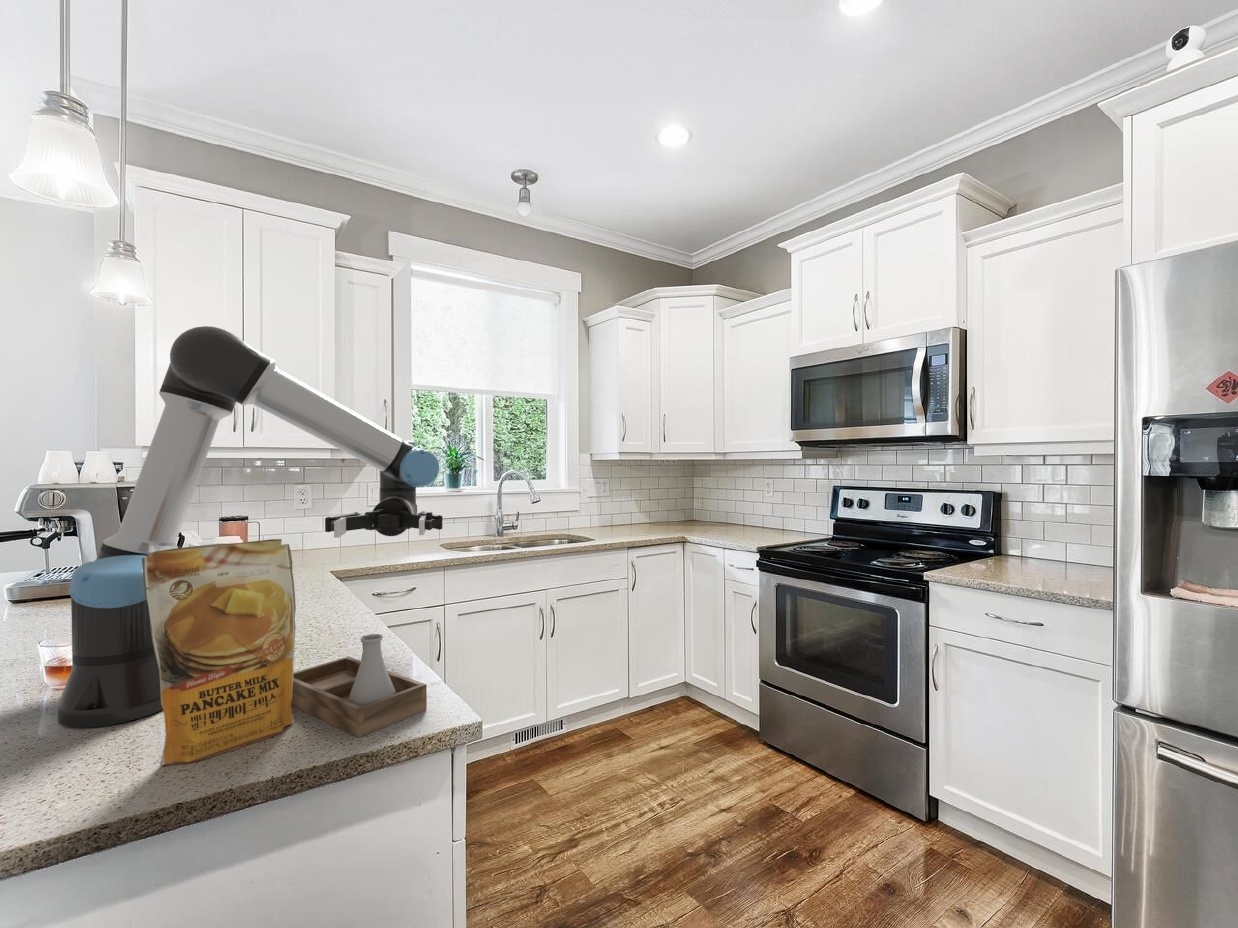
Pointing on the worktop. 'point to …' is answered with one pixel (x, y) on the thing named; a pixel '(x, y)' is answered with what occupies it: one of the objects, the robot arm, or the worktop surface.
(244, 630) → the pancake mix bag
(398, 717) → the wooden tray
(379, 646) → the flask
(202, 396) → the robot arm
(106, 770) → the worktop surface
